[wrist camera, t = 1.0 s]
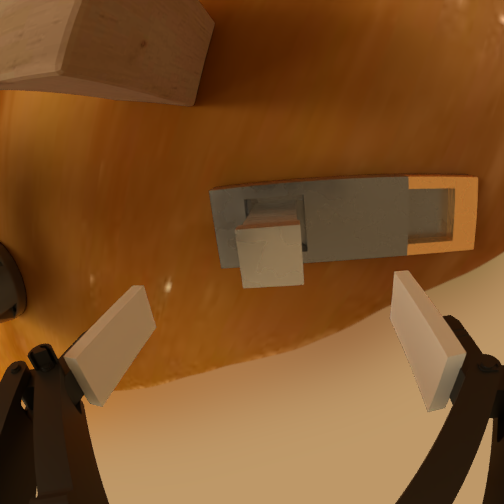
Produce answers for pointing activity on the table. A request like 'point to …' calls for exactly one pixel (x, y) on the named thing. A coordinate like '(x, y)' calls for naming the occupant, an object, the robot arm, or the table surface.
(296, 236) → the grey tall block
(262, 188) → the rail
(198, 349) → the table surface
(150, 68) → the wooden block
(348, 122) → the table surface
